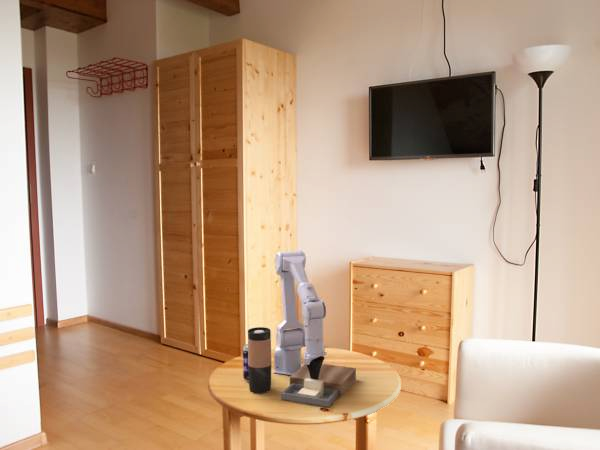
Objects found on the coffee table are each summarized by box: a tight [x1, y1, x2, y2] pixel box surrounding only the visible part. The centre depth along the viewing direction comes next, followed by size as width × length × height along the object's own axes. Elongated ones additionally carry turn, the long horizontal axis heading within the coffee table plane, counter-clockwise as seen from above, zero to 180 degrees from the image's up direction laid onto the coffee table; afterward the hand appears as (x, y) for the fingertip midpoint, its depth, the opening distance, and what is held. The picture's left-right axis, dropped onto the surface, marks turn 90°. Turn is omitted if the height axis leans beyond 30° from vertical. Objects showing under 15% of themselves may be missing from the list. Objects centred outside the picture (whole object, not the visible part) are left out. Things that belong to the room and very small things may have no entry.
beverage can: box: [242, 343, 249, 382], centre depth 178 cm, size 6×6×12 cm
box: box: [280, 383, 339, 409], centre depth 162 cm, size 16×9×2 cm, turn 67°
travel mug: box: [247, 326, 272, 395], centre depth 169 cm, size 8×8×20 cm
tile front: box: [297, 388, 320, 398], centre depth 161 cm, size 6×4×2 cm
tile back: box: [304, 378, 324, 397], centre depth 164 cm, size 6×4×2 cm
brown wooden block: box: [289, 363, 357, 398], centre depth 173 cm, size 18×16×4 cm
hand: (314, 379), depth 165 cm, fingers closed
